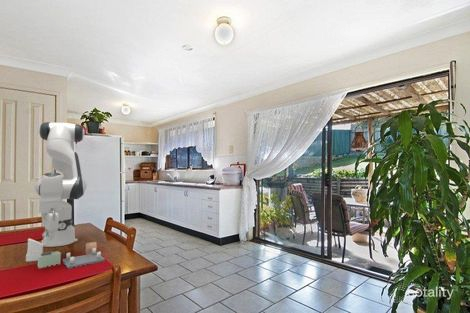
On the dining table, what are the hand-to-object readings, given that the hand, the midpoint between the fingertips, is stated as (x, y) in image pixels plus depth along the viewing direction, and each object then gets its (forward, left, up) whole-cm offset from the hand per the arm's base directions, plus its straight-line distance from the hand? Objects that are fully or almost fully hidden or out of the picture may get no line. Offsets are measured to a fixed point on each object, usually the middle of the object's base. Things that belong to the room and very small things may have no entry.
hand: (49, 238), depth 120 cm
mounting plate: (+5, +13, -12) cm, 18 cm away
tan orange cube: (-6, +19, -12) cm, 24 cm away
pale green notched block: (0, 0, -12) cm, 12 cm away
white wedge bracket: (-13, -4, -12) cm, 19 cm away
